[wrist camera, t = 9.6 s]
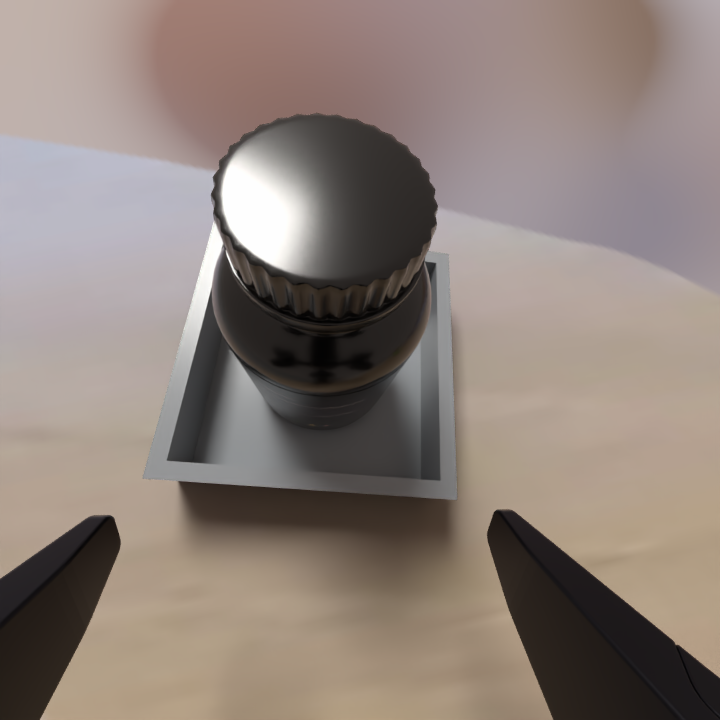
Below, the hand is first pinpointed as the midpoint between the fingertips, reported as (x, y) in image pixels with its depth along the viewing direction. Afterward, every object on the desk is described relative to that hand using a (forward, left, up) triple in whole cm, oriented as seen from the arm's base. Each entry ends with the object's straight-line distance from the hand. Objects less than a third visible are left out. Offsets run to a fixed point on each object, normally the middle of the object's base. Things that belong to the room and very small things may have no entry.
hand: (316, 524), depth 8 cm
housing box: (+7, +1, -9) cm, 11 cm away
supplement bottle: (+7, 0, -8) cm, 11 cm away
